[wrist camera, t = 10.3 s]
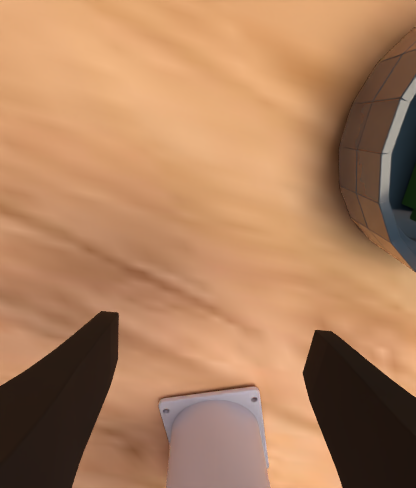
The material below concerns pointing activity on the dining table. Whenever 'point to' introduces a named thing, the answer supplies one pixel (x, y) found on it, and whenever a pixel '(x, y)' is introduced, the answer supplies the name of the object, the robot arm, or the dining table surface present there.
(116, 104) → the dining table surface
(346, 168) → the bowl
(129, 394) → the dining table surface
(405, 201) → the green box
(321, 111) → the dining table surface
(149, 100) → the dining table surface
